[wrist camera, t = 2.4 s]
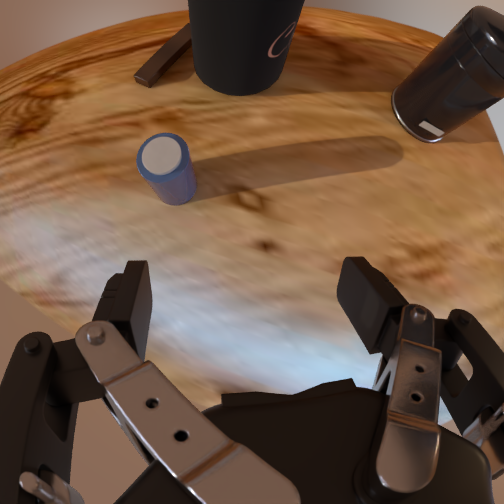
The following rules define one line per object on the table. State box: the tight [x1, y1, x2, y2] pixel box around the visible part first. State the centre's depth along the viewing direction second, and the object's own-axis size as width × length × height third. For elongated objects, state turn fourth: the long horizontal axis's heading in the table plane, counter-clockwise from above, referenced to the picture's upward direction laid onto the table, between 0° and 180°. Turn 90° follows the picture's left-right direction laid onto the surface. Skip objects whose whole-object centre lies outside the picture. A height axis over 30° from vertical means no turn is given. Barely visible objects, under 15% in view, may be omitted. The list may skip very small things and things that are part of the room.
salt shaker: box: [136, 133, 197, 205], centre depth 27 cm, size 4×4×8 cm
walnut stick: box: [134, 23, 192, 88], centre depth 31 cm, size 11×2×2 cm, turn 149°
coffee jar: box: [188, 0, 305, 96], centre depth 24 cm, size 11×11×18 cm
